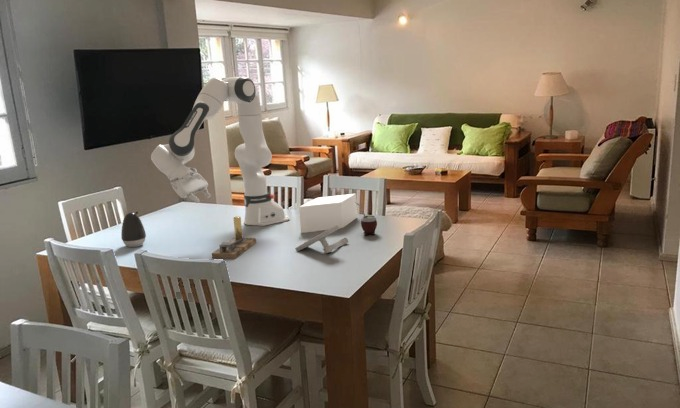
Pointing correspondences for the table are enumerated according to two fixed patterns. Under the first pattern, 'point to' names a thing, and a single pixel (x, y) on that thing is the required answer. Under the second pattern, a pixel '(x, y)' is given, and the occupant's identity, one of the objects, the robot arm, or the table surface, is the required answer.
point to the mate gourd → (368, 223)
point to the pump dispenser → (132, 230)
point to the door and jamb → (233, 248)
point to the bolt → (237, 230)
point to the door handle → (324, 241)
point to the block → (328, 212)
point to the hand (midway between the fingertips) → (204, 199)
